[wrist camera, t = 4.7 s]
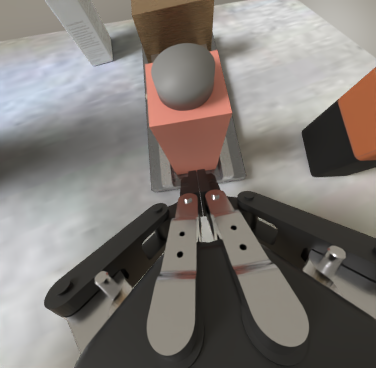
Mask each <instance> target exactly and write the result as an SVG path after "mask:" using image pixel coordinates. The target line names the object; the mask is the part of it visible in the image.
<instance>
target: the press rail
mask: <svg viewBox="0 0 376 368" xmlns="http://www.w3.org/2000/svg"><path fill="white" fill-rule="evenodd" d="M131 6H132V17H133V20H134V23H135V26H136V29H137V32H138V34H139V37H140V40H141V43H142V53H143V68H144V83H145V99H146V114H147V129H148V145H149V160H150V175H151V190H152V191H154V192H160V191H167V190H174V189H180V187H181V180H182V178H183V177H188V173H186V174H179V175H177V174H176V172H175V171H174V169H173V167H172V166H171V164H170V162H169V160H168V159H167V157H166V155H165V153H164V152H163V150H162V148H161V146H160V145H159V143H158V141H157V140H156V138H155V136H154V134H153V133H152V131H151V129H150V127H149V115H148V101H147V86H146V72H145V64H149V63H153V62H154V60H155V59H156V57H157V56H158V55H159V54H160V53H161V52H162V51H164V50H165V49H167V48H169V47H171V46H174V45H177V44H182V43H192V44H197V45H200V46H203V47H204V48H206V49H207V50H208V51H214V50H217V49H216V45H215V41H214V36H213V32H212V27H213V10H214V0H131ZM205 172H206V174H209V173H212V174H213V175H215V178H216V180H217V183H223V182H230V181H237V180H243V179H244V178H245V177H246V174H245V169H244V165H243V161H242V157H241V152H240V148H239V144H238V139H237V135H236V131H235V127H234V122H233V118H232V115H231V119H230V122H229V126H228V129H227V132H226V136H225V139H224V143H223V146H222V149H221V153H220V156H219V160H218V163H217V167H216V169H213V170H206V171H205ZM196 173H197V172H196ZM197 179H198V176H197ZM198 185H199V183H198Z"/></svg>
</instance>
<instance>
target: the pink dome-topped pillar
mask: <svg viewBox="0 0 376 368" xmlns="http://www.w3.org/2000/svg"><path fill="white" fill-rule="evenodd" d="M145 72H146V86H147V101H148V115H149V127H150V129H151V131H152V133H153V134H154V136H155V138H156V140H157V141H158V143H159V145H160V146H161V148H162V150H163V152H164V153H165V155H166V157H167V159H168V160H169V162H170V164H171V166H172V167H173V169H174V171H175V172H176V174H177V175H179V174H186V173H188V171H193V170H196V172H197V170H200V169H205V171H206V170H213V169H216V167H217V163H218V160H219V156H220V153H221V149H222V146H223V143H224V139H225V136H226V132H227V129H228V126H229V122H230V119H231V115H232V110H231V106H230V102H229V97H228V93H227V89H226V84H225V80H224V76H223V72H222V67H221V63H220V59H219V55H218V50H214V51H208V50H207V49H206V48H204V47H203V46H200V45H197V44H192V43H182V44H177V45H174V46H171V47H169V48H167V49H165V50H164V51H162V52H161V53H160V54H159V55H158V56H157V57H156V59H155V60H154V62H153V63H149V64H145Z"/></svg>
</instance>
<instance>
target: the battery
mask: <svg viewBox="0 0 376 368" xmlns="http://www.w3.org/2000/svg"><path fill="white" fill-rule="evenodd" d="M302 137H303V141H304V145H305V150H306V154H307V159H308V163H309V167H310V172H311V175H312V176H314V177H323V176H346V175H350V174H354V173H357V172H360V171H364V170H367V169H371V168H374V167H376V67H375V68H374V69H373V70H372V71H371V72H369V73H368V74H367V75H366V76H365V77H364V78H362V79H361V80H360V81H359V82H358V83H357V84H355V85H354V86H353V87H352V88H351V89H350V90H349V91H347V92H346V93H345V94H344V95H343V96H342V97H340V98H339V99H338V100H337V101H336V102H335V103H334V104H332V105H331V106H330V107H329V108H328V109H327V110H325V111H324V112H323V113H322V114H321V115H320V116H318V117H317V118H316V119H315V120H314V121H313V122H312V123H310V124H309V125H308V126H307V127H306V128H305V129H304V130H303V131H302Z"/></svg>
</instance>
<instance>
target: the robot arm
mask: <svg viewBox="0 0 376 368" xmlns="http://www.w3.org/2000/svg"><path fill="white" fill-rule="evenodd" d="M197 176H198V179H197ZM198 183H199V185H198ZM199 190H200V192H199ZM200 196H201V199H200ZM201 203H202V206H201ZM202 209H203V214H202ZM203 215H204V216H207V220H208V224H209V228H210V231H211V234H212V238H213V242H209V243H207V242H202V225H201V217H202V216H203ZM258 217H259V218H261V219H263V220H265V221H267V222H270V223H272V224H273V225H275V226H276V227H277V229H278V230H277V229H275V228H273V227H271V226H269V225H267V224H265V223H263V222H261V221H259V220H258ZM154 231H155V233H154V234H153V235H152V236H151V237H150V238H149V239H148V240H147V241H146V242H145V243H144V244H143V245H142V243H143V242H144V240H145V239H146V238H147V237H148V236H149V235H151V234H152V233H153V232H154ZM164 251H165V253H164V254H163V252H164ZM162 254H163V255H162ZM161 255H162V256H161ZM160 256H161V257H160ZM156 260H157V261H156ZM151 266H152V267H151ZM150 267H151V268H150ZM149 268H150V269H149ZM146 272H147V273H146ZM145 273H146V274H145ZM144 274H145V275H144ZM143 275H144V276H143ZM142 276H143V277H142ZM141 278H142V279H141ZM140 279H141V280H140ZM139 280H140V281H139ZM138 281H139V282H138ZM137 282H138V283H137ZM136 283H137V285H136V286H135V284H136ZM134 286H135V287H134ZM133 287H134V288H133ZM132 288H133V290H132ZM44 305H45V307H46V308H47V309H49V310H51V311H52V312H54V313H56V314H57V315H59V316H61V317H62V318H64V319H66V320H67V321H68V324H69V326H70V329H71V331H72V333H73V336H74V338H75V341H76V343H77V346H78V348H79V351H80V353H81V355H80V357H79V359H78V361H77V363H76V365H75V367H74V368H376V238H373V237H371V236H368V235H365V234H363V233H360V232H357V231H355V230H352V229H350V228H347V227H344V226H342V225H339V224H336V223H334V222H331V221H328V220H326V219H323V218H321V217H318V216H315V215H313V214H310V213H307V212H305V211H302V210H299V209H297V208H294V207H292V206H289V205H286V204H284V203H281V202H278V201H276V200H273V199H270V198H268V197H265V196H263V195H260V194H257V193H255V192H251V191H244V192H241V193H239V194H238V198H237V197H228V196H226V194H225V193H224V192H223V191H221V190H220V188H219V185H218V183H217V180H216V178H215V175H213V174H212V173H209V174H206V172H205V169H200V170H197V173H196V170H193V171H188V177H183V178H182V180H181V187H180V197H179V199H178V202H177V203H175V204H174V205H171V206H167V205H166V204H163V203H159V204H155V205H153V206H152V207H150V208H149V209H148V210H146V211H145V212H144V213H143V214H141V215H140V216H139V217H138V218H136V219H135V220H134V221H133V222H131V223H130V224H129V225H127V226H126V227H125V228H124V229H122V230H121V231H120V232H119V233H117V234H116V235H115V236H114V237H112V238H111V239H110V240H109V241H107V242H106V243H105V244H103V245H102V246H101V247H100V248H98V249H97V250H96V251H95V252H93V253H92V254H91V255H90V256H88V257H87V258H86V259H85V260H83V261H82V262H81V263H79V264H78V265H77V266H76V267H74V268H73V269H72V270H71V271H69V272H68V273H67V274H66V275H64V276H63V277H62V278H61V279H59V280H58V281H57V282H56V283H55V284H54V285H53V286H52V287H51V289H50V290H49V291H48V293H47V295H46V297H45V300H44Z"/></svg>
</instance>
